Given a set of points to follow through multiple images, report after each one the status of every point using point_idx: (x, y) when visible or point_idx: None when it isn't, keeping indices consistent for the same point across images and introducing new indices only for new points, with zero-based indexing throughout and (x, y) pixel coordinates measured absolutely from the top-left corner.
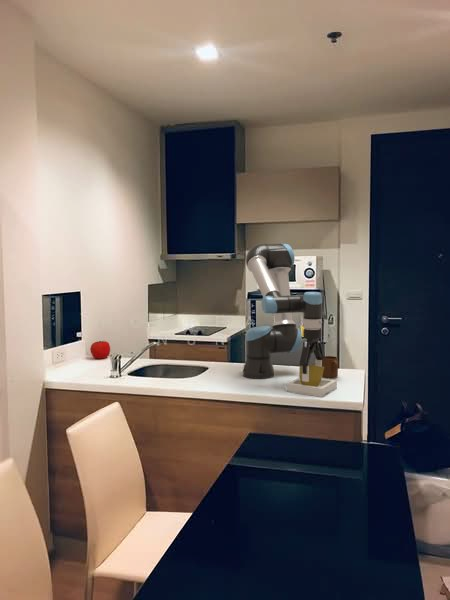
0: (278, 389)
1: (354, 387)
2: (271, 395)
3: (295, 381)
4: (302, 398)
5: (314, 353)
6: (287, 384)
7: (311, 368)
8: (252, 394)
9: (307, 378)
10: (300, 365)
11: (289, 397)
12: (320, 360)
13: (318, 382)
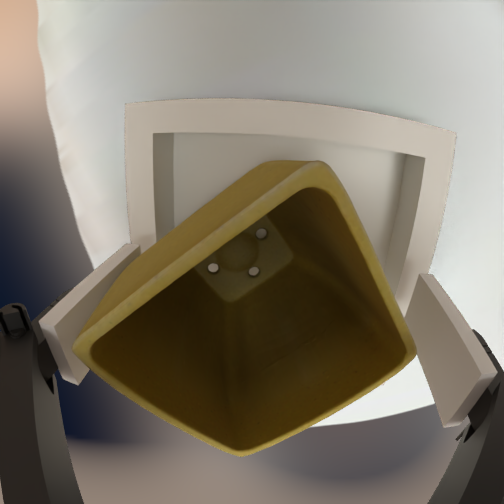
0: (185, 30)
1: (412, 397)
2: (57, 82)
3: (228, 131)
4: (91, 248)
5: (467, 478)
6: (128, 110)
7: (148, 377)
8: (44, 7)
9: None
10: (17, 309)
11: (69, 182)
12: (448, 423)
13: (219, 337)
